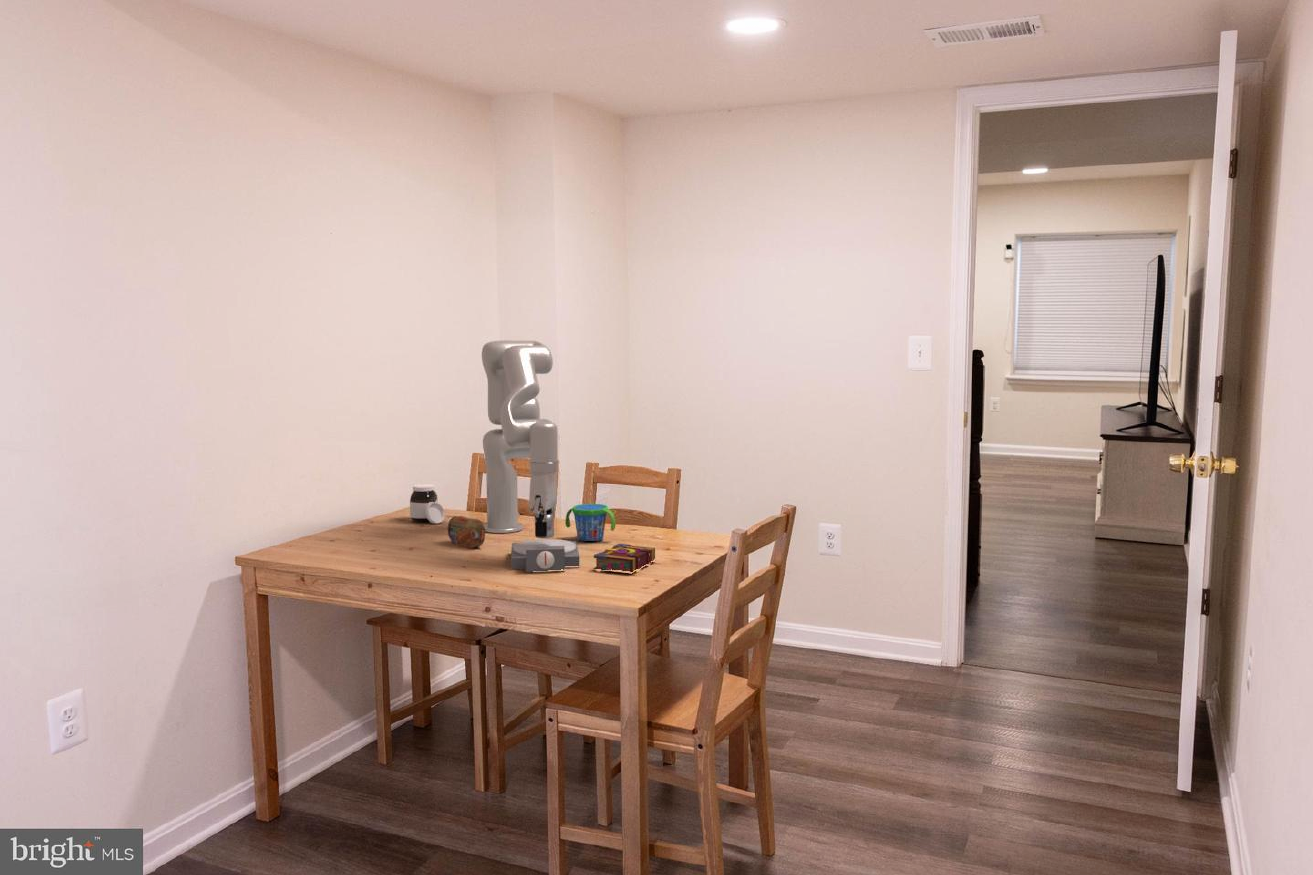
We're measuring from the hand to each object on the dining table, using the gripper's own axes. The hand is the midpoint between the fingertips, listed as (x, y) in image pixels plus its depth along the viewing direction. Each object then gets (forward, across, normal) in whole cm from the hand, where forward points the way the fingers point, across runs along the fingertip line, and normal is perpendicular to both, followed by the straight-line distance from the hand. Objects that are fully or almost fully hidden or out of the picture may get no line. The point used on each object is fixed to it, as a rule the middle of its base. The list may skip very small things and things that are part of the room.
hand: (544, 533), depth 269 cm
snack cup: (+8, -27, +5) cm, 29 cm away
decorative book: (+8, +2, +23) cm, 24 cm away
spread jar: (+7, -41, -54) cm, 68 cm away
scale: (+8, +2, +1) cm, 8 cm away
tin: (+8, -12, -28) cm, 32 cm away
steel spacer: (+1, 0, 0) cm, 1 cm away
